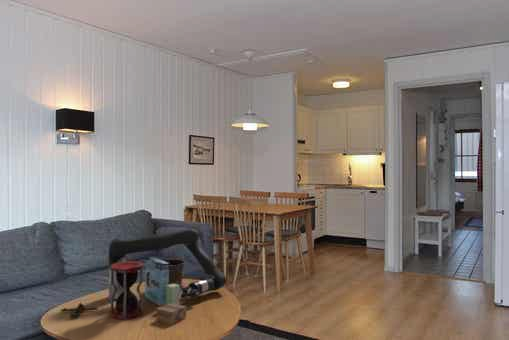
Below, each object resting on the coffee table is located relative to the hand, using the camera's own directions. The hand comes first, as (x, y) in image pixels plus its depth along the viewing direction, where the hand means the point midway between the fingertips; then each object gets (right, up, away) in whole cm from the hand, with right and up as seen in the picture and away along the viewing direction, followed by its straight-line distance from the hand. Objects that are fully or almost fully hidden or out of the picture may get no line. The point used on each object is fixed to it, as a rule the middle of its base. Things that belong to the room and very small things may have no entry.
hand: (176, 294), depth 221 cm
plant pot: (-10, -6, +34) cm, 36 cm away
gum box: (-13, -7, +9) cm, 17 cm away
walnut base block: (+1, -7, -18) cm, 19 cm away
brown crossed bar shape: (-48, -7, -11) cm, 50 cm away
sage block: (-2, -7, -2) cm, 7 cm away
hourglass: (-23, -7, -11) cm, 27 cm away
